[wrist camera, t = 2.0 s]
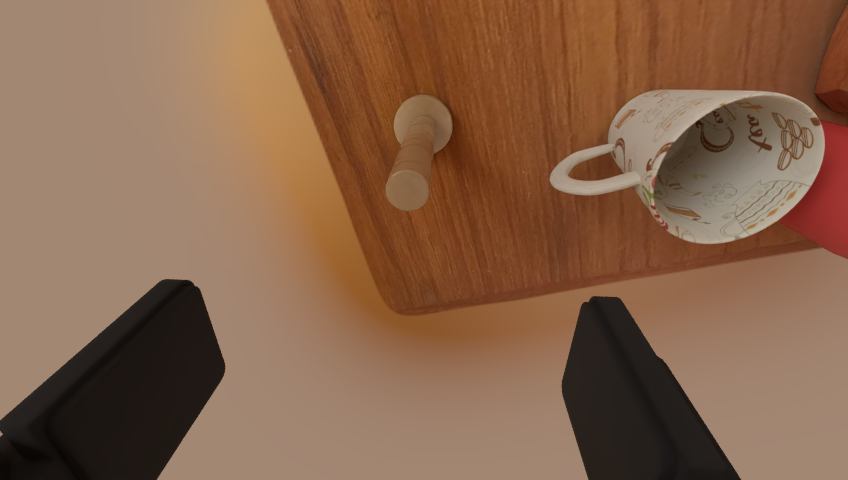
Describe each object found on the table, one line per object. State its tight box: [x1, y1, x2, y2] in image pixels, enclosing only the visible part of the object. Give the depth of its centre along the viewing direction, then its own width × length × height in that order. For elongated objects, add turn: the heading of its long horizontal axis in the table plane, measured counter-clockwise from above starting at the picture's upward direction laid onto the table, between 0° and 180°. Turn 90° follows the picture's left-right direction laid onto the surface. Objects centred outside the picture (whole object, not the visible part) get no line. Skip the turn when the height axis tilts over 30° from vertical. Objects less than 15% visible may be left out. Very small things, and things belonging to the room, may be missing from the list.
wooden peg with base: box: [386, 94, 452, 211], centre depth 24 cm, size 4×4×14 cm
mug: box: [550, 89, 825, 244], centre depth 25 cm, size 8×13×10 cm, turn 109°
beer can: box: [777, 120, 848, 259], centre depth 24 cm, size 7×7×12 cm
